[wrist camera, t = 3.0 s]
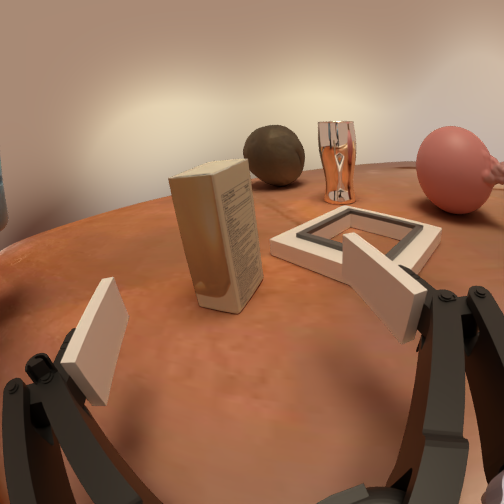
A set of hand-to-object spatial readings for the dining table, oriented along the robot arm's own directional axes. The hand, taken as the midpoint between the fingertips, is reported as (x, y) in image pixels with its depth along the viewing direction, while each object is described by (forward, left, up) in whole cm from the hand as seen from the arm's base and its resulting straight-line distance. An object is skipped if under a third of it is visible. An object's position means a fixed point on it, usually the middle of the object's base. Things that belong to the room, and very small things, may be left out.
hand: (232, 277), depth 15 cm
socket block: (-3, +21, -7) cm, 22 cm away
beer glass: (-17, +37, -7) cm, 41 cm away
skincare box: (-8, +5, -7) cm, 12 cm away
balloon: (+6, +44, -7) cm, 45 cm away
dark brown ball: (-37, +40, -7) cm, 55 cm away
